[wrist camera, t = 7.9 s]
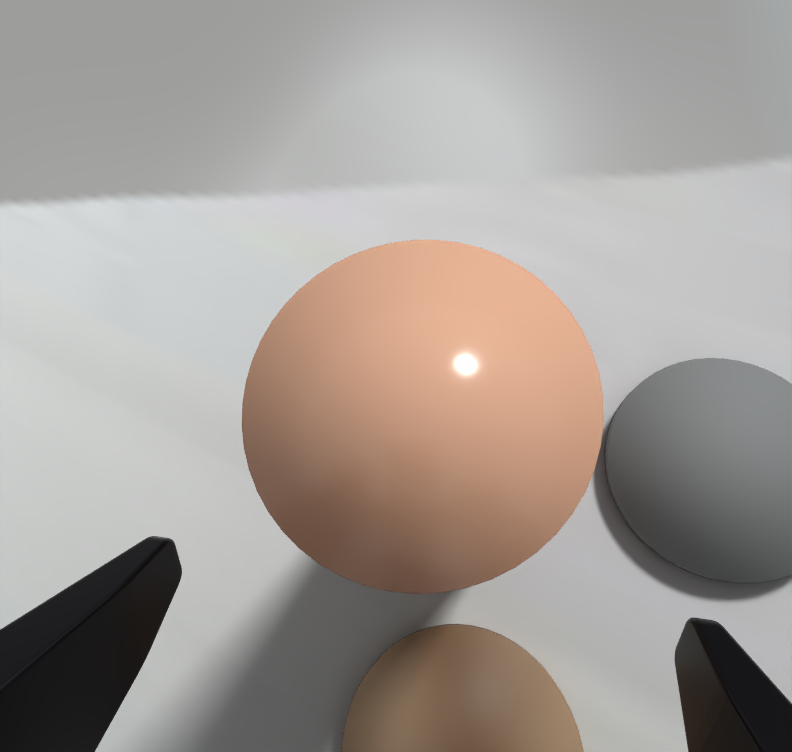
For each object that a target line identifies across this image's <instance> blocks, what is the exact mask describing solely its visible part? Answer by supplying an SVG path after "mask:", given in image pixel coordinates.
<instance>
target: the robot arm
mask: <svg viewBox="0 0 792 752" xmlns="http://www.w3.org/2000/svg"><path fill="white" fill-rule="evenodd" d="M181 575H182V568H181V564H180V560H179V557H178V553H177V550H176V546H175V543H174V541H173V540H172V539H170V538H164V537H158V536H151V537H148V538H146V539H145V540H143V541H141V542H140V543H138V544H137V545H135V546H133V547H132V548H130V549H129V550H127V551H125V552H124V553H122V554H121V555H119V556H117V557H116V558H114V559H113V560H111V561H109V562H108V563H106V564H105V565H103V566H101V567H100V568H98V569H97V570H95V571H93V572H92V573H90V574H89V575H87V576H85V577H84V578H82V579H81V580H79V581H77V582H76V583H74V584H73V585H71V586H69V587H68V588H66V589H65V590H63V591H61V592H60V593H58V594H57V595H55V596H53V597H52V598H50V599H49V600H47V601H45V602H44V603H42V604H41V605H39V606H37V607H36V608H34V609H33V610H31V611H29V612H28V613H26V614H25V615H23V616H21V617H20V618H18V619H17V620H15V621H13V622H12V623H10V624H9V625H7V626H5V627H4V628H2V629H1V630H0V752H95V750H96V748H97V747H98V745H99V743H100V741H101V739H102V738H103V736H104V734H105V732H106V730H107V729H108V727H109V725H110V723H111V721H112V720H113V718H114V716H115V714H116V712H117V711H118V709H119V707H120V705H121V703H122V702H123V700H124V698H125V696H126V695H127V693H128V691H129V689H130V687H131V686H132V684H133V682H134V680H135V678H136V677H137V675H138V673H139V671H140V669H141V667H142V665H143V663H144V661H145V659H146V657H147V655H148V653H149V651H150V649H151V647H152V644H153V642H154V640H155V637H156V635H157V633H158V631H159V628H160V626H161V624H162V621H163V619H164V617H165V615H166V612H167V610H168V608H169V605H170V603H171V601H172V599H173V596H174V594H175V592H176V589H177V587H178V585H179V582H180V579H181ZM675 667H676V673H677V680H678V686H679V693H680V699H681V706H682V712H683V719H684V726H685V732H686V739H687V745H688V751H689V752H792V703H791V702H790V701H789V700H788V699H787V698H786V697H785V696H784V694H783V693H782V692H781V691H780V690H779V689H778V688H777V687H776V685H775V684H774V683H773V682H772V681H771V680H770V679H769V678H768V676H767V675H766V674H765V673H764V672H763V671H762V670H761V669H760V668H759V666H758V665H757V664H756V663H755V662H754V661H753V660H752V659H751V657H750V656H749V655H748V654H747V653H746V652H745V651H744V650H743V648H742V647H741V646H740V645H739V644H738V643H737V642H736V641H735V639H734V638H733V637H732V636H731V635H730V634H729V633H728V632H727V631H726V629H725V628H724V627H723V626H722V625H721V624H719V623H718V622H716V621H713V620H707V619H700V618H690V619H689V620H688V621H687V622H686V624H685V627H684V629H683V632H682V634H681V637H680V639H679V642H678V644H677V646H676V650H675Z"/></svg>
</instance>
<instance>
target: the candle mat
mask: <svg viewBox="0 0 792 752" xmlns="http://www.w3.org/2000/svg"><path fill="white" fill-rule="evenodd" d="M605 468H606V474H607V480H608V483H609V487H610V490H611V493H612V496H613V498H614V500H615V503H616V505H617V507H618V509H619V511H620V512H621V514H622V516H623V517H624V519H625V521H626V522H627V523H628V524H629V526H630V527H631V528H632V530H633V531H634V532H635V533H636V535H637V536H638V537H639V538H640V539H641V540H642V541H643V542H644V543H645V544H646V545H647V546H649V547H650V548H651V549H652V550H654V551H655V552H656V553H657V554H659V555H660V556H661V557H663V558H665V559H666V560H668V561H669V562H671V563H672V564H674V565H676V566H678V567H681V568H683V569H685V570H687V571H689V572H692V573H695V574H698V575H701V576H703V577H708V578H713V579H717V580H722V581H728V582H738V583H760V582H767V581H772V580H778V579H781V578H784V577H787V576H790V575H792V384H791V383H790V382H788V381H787V380H785V379H783V378H782V377H780V376H778V375H776V374H774V373H772V372H770V371H768V370H766V369H763V368H760V367H758V366H755V365H752V364H748V363H744V362H741V361H735V360H729V359H717V358H705V359H694V360H689V361H684V362H680V363H677V364H674V365H671V366H668V367H666V368H664V369H662V370H660V371H658V372H656V373H654V374H653V375H651V376H650V377H648V378H647V379H645V380H644V381H643V382H642V383H640V384H639V385H638V386H637V387H636V388H635V389H634V390H633V391H632V392H630V393H629V395H628V396H627V397H626V398H625V399H624V401H623V402H622V403H621V405H620V406H619V408H618V410H617V411H616V413H615V415H614V417H613V419H612V422H611V424H610V427H609V430H608V434H607V438H606V446H605Z"/></svg>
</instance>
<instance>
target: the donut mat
mask: <svg viewBox="0 0 792 752" xmlns="http://www.w3.org/2000/svg"><path fill="white" fill-rule="evenodd" d="M342 752H583V747H582V743H581V739H580V735H579V731H578V728H577V725H576V723H575V720H574V717H573V715H572V712H571V710H570V708H569V706H568V704H567V702H566V700H565V698H564V696H563V695H562V693H561V691H560V690H559V688H558V687H557V685H556V684H555V682H554V681H553V679H552V678H551V676H550V675H549V674H548V673H547V671H546V670H545V669H544V668H543V667H542V665H541V664H540V663H539V662H538V661H537V660H536V659H535V658H534V657H532V656H531V655H530V654H529V653H528V652H527V651H526V650H524V649H523V648H522V647H520V646H519V645H518V644H516V643H515V642H513V641H511V640H509V639H508V638H506V637H504V636H502V635H500V634H498V633H495V632H493V631H490V630H488V629H484V628H480V627H476V626H471V625H462V624H446V625H438V626H433V627H428V628H425V629H422V630H419V631H416V632H414V633H412V634H410V635H408V636H406V637H404V638H403V639H401V640H400V641H398V642H397V643H395V644H394V645H393V646H391V647H390V648H389V649H388V650H387V651H386V652H385V653H384V654H382V655H381V656H380V657H379V659H378V660H377V661H376V662H375V663H374V665H373V666H372V667H371V668H370V670H369V671H368V672H367V674H366V676H365V677H364V679H363V680H362V682H361V683H360V685H359V687H358V689H357V691H356V693H355V695H354V698H353V700H352V702H351V705H350V708H349V711H348V714H347V718H346V722H345V727H344V732H343V741H342Z"/></svg>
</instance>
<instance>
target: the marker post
mask: <svg viewBox="0 0 792 752" xmlns="http://www.w3.org/2000/svg"><path fill="white" fill-rule="evenodd" d="M603 422H604V416H603V394H602V388H601V382H600V376H599V372H598V368H597V365H596V362H595V359H594V356H593V353H592V350H591V348H590V346H589V344H588V341H587V339H586V337H585V335H584V333H583V331H582V329H581V327H580V326H579V324H578V323H577V321H576V320H575V318H574V317H573V315H572V314H571V312H570V311H569V309H568V308H567V307H566V306H565V305H564V304H563V302H562V301H561V300H560V299H559V298H558V297H557V295H556V294H555V293H554V292H553V291H552V290H551V289H549V288H548V287H547V286H546V285H545V284H544V283H543V282H542V281H541V280H539V279H538V278H537V277H536V276H534V275H533V274H531V273H530V272H528V271H527V270H525V269H524V268H523V267H521V266H520V265H518V264H516V263H514V262H512V261H510V260H508V259H506V258H504V257H502V256H500V255H498V254H495V253H493V252H490V251H487V250H485V249H482V248H479V247H475V246H471V245H467V244H462V243H458V242H450V241H441V240H411V241H402V242H394V243H390V244H385V245H381V246H377V247H373V248H370V249H367V250H364V251H362V252H359V253H356V254H353V255H351V256H349V257H347V258H345V259H343V260H341V261H339V262H337V263H335V264H333V265H332V266H330V267H329V268H327V269H325V270H324V271H322V272H321V273H319V274H318V275H316V276H315V277H314V278H313V279H311V280H310V281H309V282H308V283H306V284H305V285H304V286H303V287H302V288H300V289H299V290H298V291H297V292H296V293H295V294H294V296H293V297H292V298H291V299H290V300H289V301H288V302H287V303H286V304H285V305H284V306H283V308H282V309H281V310H280V312H279V313H278V314H277V316H276V317H275V318H274V319H273V321H272V322H271V324H270V326H269V327H268V329H267V331H266V333H265V334H264V336H263V338H262V339H261V341H260V344H259V346H258V348H257V351H256V353H255V355H254V357H253V360H252V363H251V366H250V370H249V373H248V377H247V380H246V385H245V391H244V398H243V407H242V432H243V442H244V450H245V454H246V458H247V463H248V467H249V471H250V473H251V476H252V479H253V481H254V484H255V487H256V489H257V492H258V494H259V495H260V497H261V499H262V501H263V503H264V505H265V507H266V508H267V510H268V512H269V513H270V515H271V516H272V517H273V519H274V520H275V522H276V523H277V524H278V526H279V527H280V528H281V530H282V531H283V532H284V533H285V534H286V535H287V536H288V537H289V538H290V539H291V540H292V541H293V542H294V543H295V544H296V546H297V547H298V548H299V549H301V550H302V551H303V552H305V553H306V554H307V555H308V556H310V557H311V558H312V559H314V560H315V561H316V562H317V563H319V564H321V565H322V566H324V567H326V568H328V569H329V570H331V571H333V572H334V573H336V574H338V575H340V576H342V577H344V578H347V579H349V580H352V581H354V582H357V583H359V584H362V585H365V586H369V587H373V588H377V589H381V590H385V591H391V592H401V593H411V594H422V593H442V592H447V591H452V590H458V589H463V588H468V587H470V586H473V585H476V584H479V583H482V582H485V581H488V580H491V579H493V578H495V577H497V576H499V575H501V574H503V573H505V572H507V571H509V570H511V569H513V568H515V567H516V566H518V565H519V564H521V563H522V562H524V561H525V560H527V559H528V558H529V557H531V556H532V555H534V554H535V553H537V552H538V551H539V550H540V549H541V548H542V547H543V546H544V545H545V544H546V543H547V542H548V541H549V540H551V539H552V538H553V537H554V536H555V535H556V534H557V532H558V531H559V530H560V529H561V527H562V526H563V525H564V524H565V522H566V521H567V520H568V519H569V518H570V516H571V515H572V514H573V512H574V510H575V508H576V507H577V505H578V503H579V502H580V500H581V498H582V497H583V495H584V493H585V491H586V489H587V486H588V484H589V482H590V479H591V477H592V474H593V472H594V470H595V466H596V462H597V458H598V454H599V450H600V447H601V440H602V431H603Z"/></svg>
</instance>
